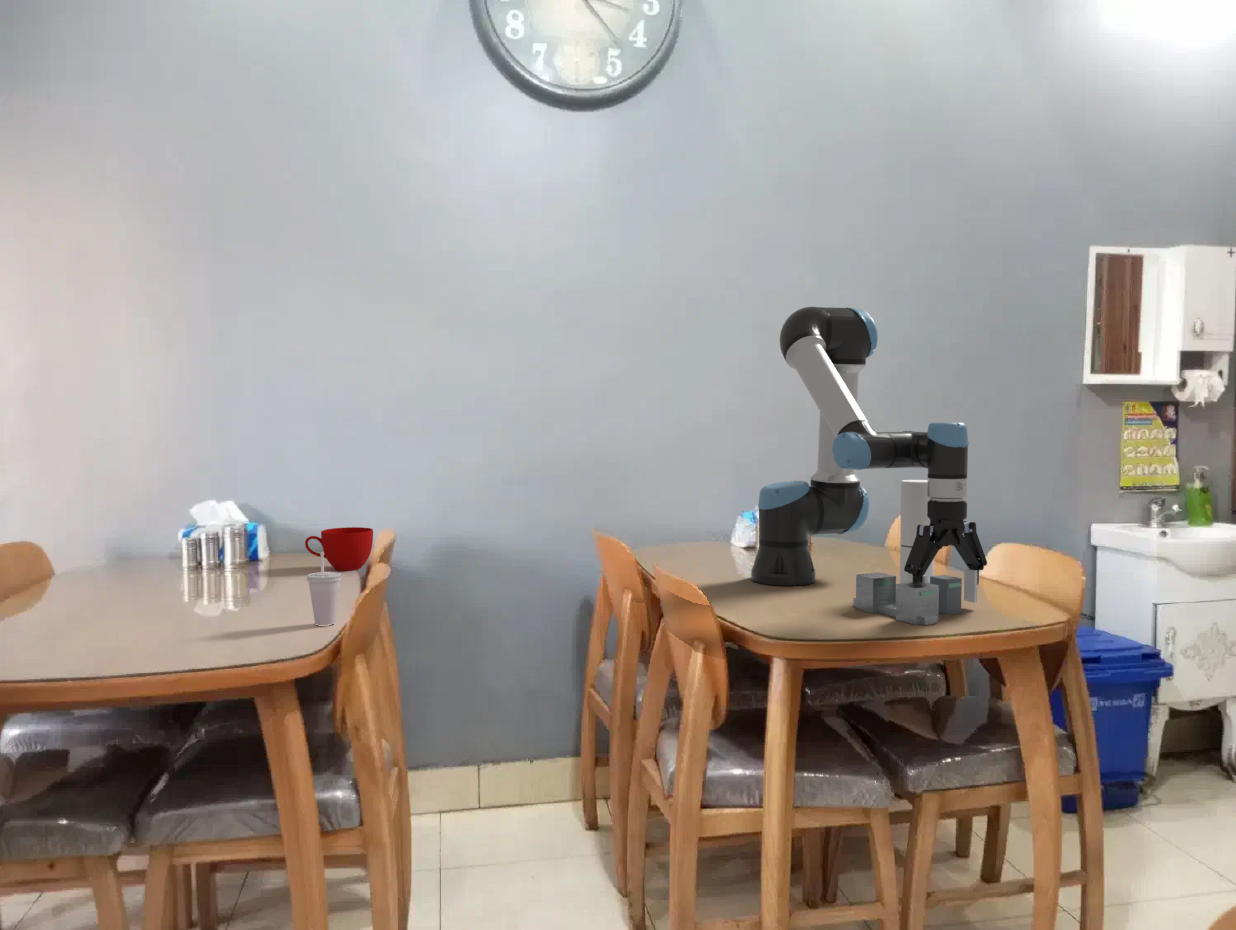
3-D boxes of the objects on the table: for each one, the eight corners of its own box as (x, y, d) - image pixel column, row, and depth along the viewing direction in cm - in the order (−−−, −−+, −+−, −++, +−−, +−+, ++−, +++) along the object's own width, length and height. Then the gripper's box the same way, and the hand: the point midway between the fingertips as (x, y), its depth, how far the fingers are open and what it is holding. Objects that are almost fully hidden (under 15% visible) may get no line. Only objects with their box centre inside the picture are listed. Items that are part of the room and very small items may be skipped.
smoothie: (330, 619, 184) (328, 548, 183) (349, 623, 180) (347, 551, 179) (301, 624, 179) (299, 552, 178) (320, 629, 175) (318, 555, 174)
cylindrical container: (935, 597, 202) (937, 482, 200) (901, 596, 203) (902, 482, 202) (931, 591, 209) (933, 479, 207) (898, 590, 210) (899, 479, 209)
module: (929, 610, 189) (930, 576, 189) (944, 608, 191) (944, 574, 191) (947, 615, 185) (947, 580, 185) (961, 613, 187) (962, 578, 187)
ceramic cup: (306, 566, 245) (305, 529, 245) (372, 563, 250) (371, 526, 250) (305, 575, 233) (304, 535, 232) (375, 571, 238) (374, 532, 237)
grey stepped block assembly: (847, 606, 194) (848, 572, 193) (870, 603, 196) (870, 570, 196) (918, 626, 176) (919, 589, 175) (942, 622, 178) (942, 586, 178)
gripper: (914, 503, 178) (913, 614, 179) (1006, 497, 189) (1005, 601, 190) (886, 500, 185) (885, 607, 186) (977, 495, 196) (975, 595, 197)
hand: (946, 604), depth 188 cm, fingers open, 13 cm apart
